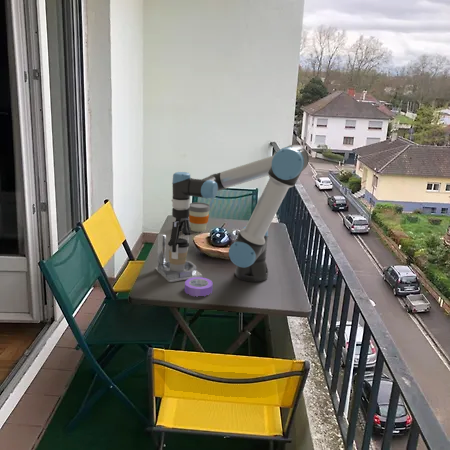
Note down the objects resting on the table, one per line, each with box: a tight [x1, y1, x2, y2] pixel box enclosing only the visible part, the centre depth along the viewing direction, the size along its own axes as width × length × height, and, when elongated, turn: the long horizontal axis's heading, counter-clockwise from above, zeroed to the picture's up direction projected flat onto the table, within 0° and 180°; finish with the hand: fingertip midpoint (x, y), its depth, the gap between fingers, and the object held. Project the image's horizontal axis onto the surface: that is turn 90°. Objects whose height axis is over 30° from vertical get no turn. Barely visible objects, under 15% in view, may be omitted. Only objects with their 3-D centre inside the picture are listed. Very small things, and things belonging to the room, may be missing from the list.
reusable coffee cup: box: [188, 201, 211, 233], centre depth 271 cm, size 13×13×15 cm
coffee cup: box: [167, 237, 190, 272], centre depth 204 cm, size 9×9×15 cm
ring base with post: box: [155, 233, 203, 283], centre depth 206 cm, size 16×16×17 cm
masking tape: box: [184, 276, 214, 298], centre depth 192 cm, size 12×12×4 cm
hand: (180, 253), depth 206 cm, fingers open, 13 cm apart
